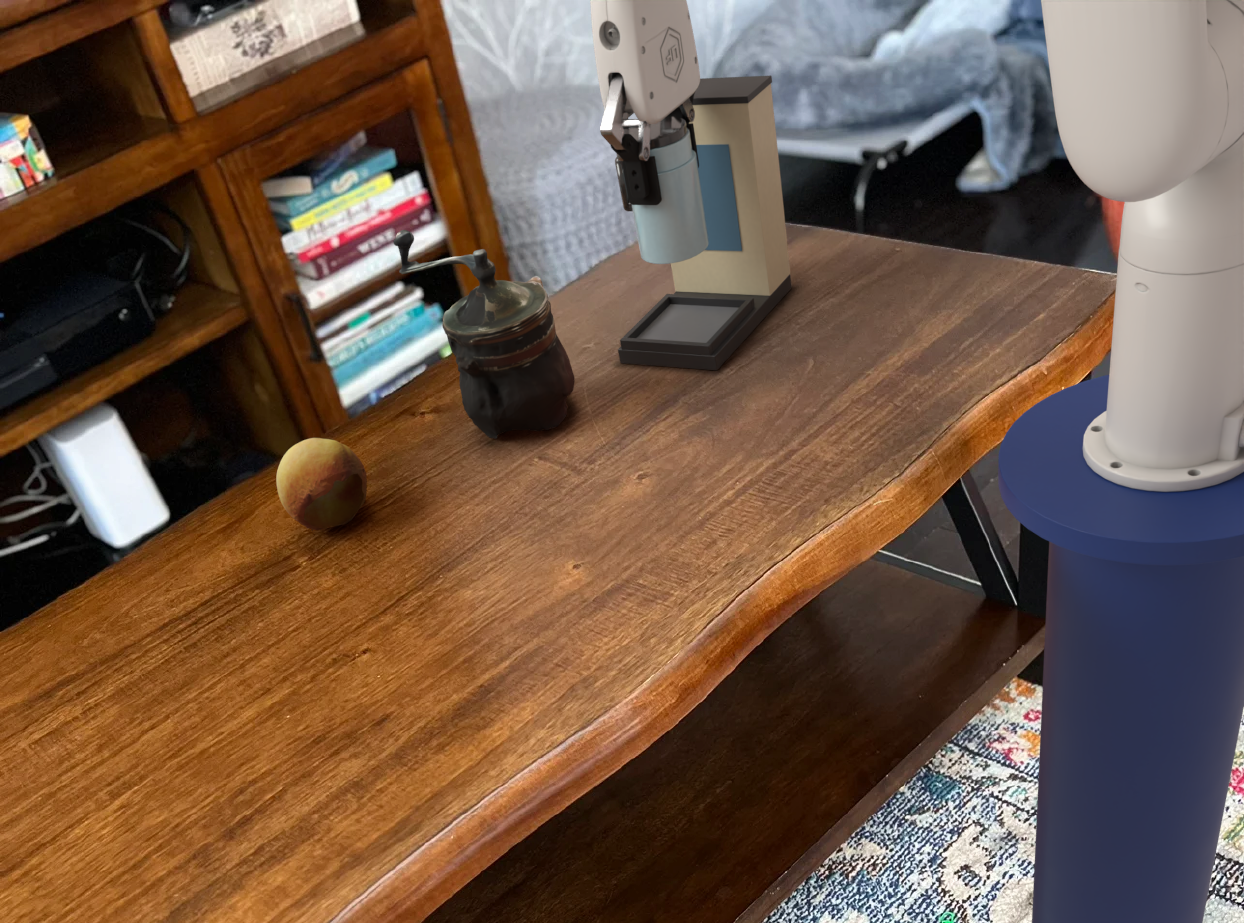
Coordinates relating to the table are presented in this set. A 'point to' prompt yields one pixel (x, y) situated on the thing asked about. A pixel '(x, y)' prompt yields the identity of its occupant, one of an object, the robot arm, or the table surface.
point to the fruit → (321, 483)
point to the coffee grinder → (503, 348)
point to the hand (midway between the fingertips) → (664, 185)
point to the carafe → (670, 197)
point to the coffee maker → (724, 235)
